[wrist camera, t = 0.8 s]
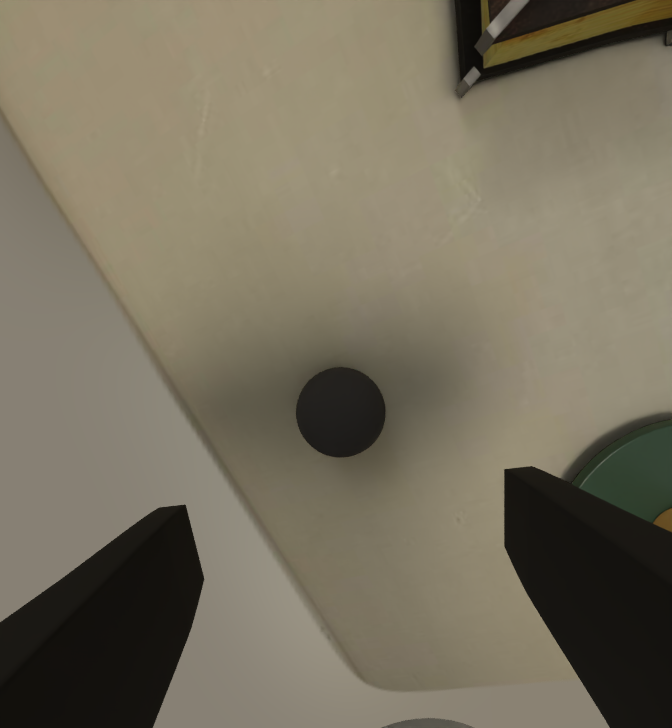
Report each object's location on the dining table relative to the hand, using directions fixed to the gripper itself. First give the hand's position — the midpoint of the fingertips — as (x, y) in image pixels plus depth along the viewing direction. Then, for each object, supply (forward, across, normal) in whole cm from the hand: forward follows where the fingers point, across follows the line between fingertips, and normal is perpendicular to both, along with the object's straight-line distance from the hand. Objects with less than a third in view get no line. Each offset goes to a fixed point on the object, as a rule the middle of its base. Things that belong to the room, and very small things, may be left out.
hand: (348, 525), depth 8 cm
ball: (+7, 0, 0) cm, 7 cm away
